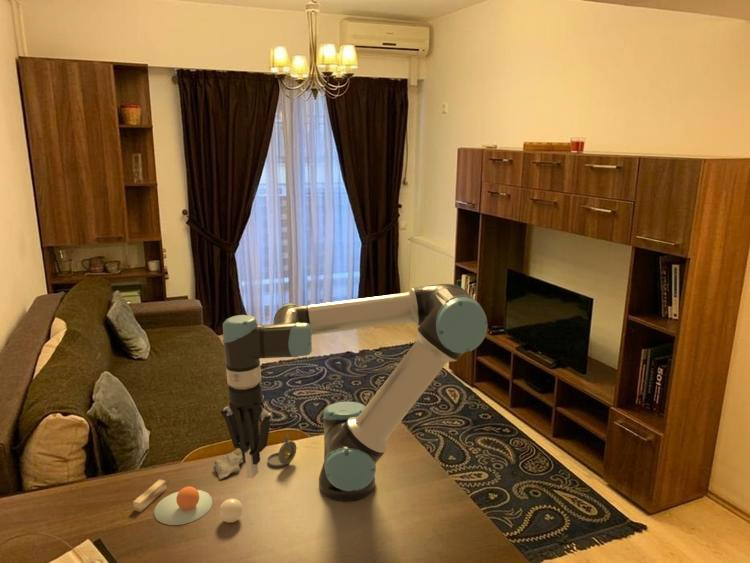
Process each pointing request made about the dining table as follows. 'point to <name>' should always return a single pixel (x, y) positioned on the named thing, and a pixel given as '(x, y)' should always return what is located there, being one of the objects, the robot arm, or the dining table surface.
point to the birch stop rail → (149, 495)
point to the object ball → (187, 498)
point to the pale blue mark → (174, 515)
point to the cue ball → (231, 510)
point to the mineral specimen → (228, 464)
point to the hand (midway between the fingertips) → (252, 474)
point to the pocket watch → (283, 454)
